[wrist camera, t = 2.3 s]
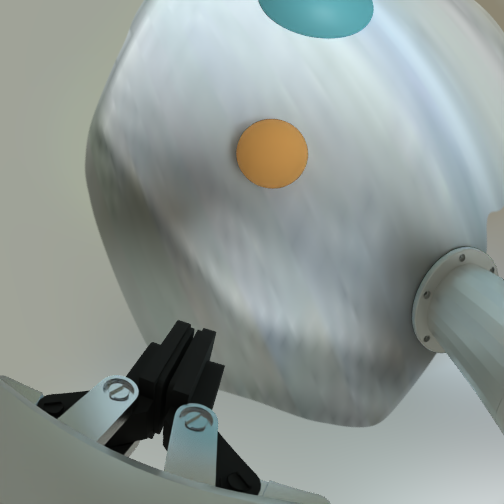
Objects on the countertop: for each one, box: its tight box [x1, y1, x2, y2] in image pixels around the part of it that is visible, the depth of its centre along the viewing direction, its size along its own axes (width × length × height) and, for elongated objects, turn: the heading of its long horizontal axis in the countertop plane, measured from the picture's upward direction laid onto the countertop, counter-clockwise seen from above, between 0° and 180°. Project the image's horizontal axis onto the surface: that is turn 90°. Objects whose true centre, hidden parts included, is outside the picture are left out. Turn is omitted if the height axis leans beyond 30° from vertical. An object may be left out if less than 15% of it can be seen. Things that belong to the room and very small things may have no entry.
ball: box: [236, 119, 308, 188], centre depth 21 cm, size 6×6×6 cm
